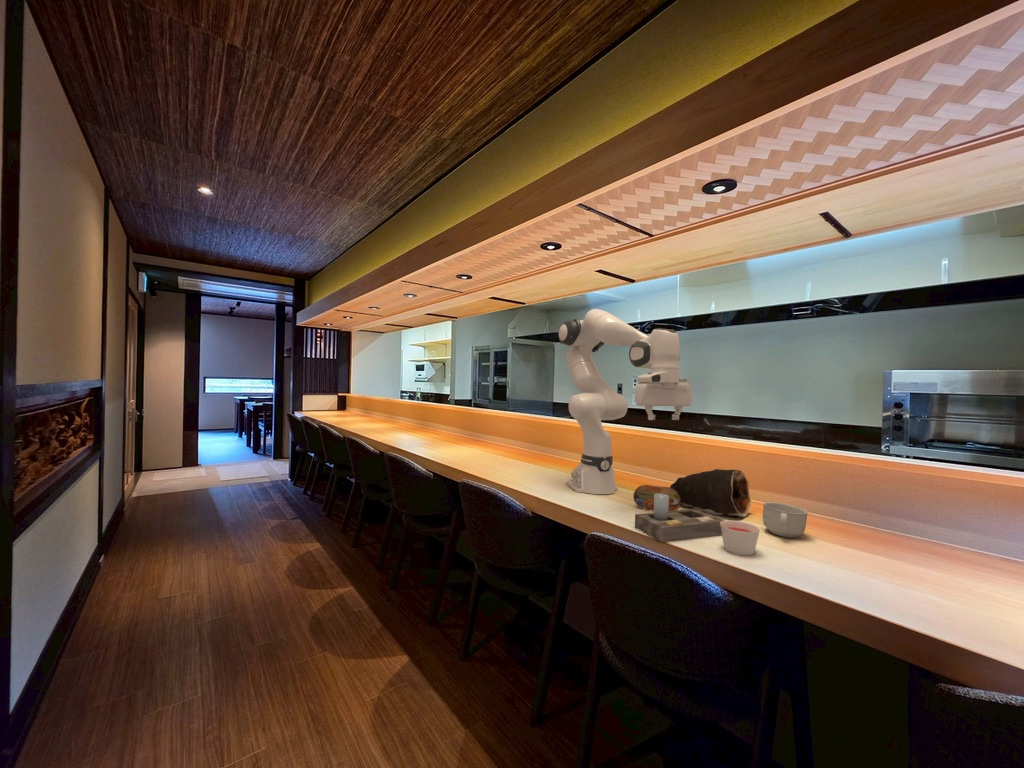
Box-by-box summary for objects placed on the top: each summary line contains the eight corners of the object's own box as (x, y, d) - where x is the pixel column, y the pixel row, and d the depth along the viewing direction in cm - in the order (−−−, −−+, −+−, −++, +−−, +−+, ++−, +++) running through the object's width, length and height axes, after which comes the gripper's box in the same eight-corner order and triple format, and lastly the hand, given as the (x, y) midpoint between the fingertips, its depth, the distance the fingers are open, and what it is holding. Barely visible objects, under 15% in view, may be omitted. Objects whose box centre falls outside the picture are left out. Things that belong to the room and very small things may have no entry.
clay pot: (675, 466, 160) (744, 463, 141) (684, 505, 159) (755, 508, 140) (656, 476, 149) (728, 475, 131) (665, 518, 149) (739, 523, 130)
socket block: (634, 527, 123) (635, 513, 123) (694, 521, 131) (694, 507, 131) (662, 542, 112) (662, 526, 112) (725, 534, 119) (725, 519, 119)
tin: (633, 508, 144) (633, 483, 144) (634, 505, 146) (635, 481, 146) (679, 515, 137) (680, 489, 137) (680, 513, 139) (681, 487, 139)
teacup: (768, 525, 128) (768, 499, 128) (810, 534, 121) (811, 507, 121) (754, 536, 119) (755, 508, 119) (799, 547, 111) (800, 517, 111)
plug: (650, 527, 122) (651, 493, 122) (661, 526, 123) (662, 493, 123) (659, 532, 118) (660, 497, 118) (670, 531, 120) (671, 496, 119)
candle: (743, 560, 102) (744, 534, 102) (711, 546, 110) (712, 522, 110) (767, 554, 106) (767, 529, 106) (734, 542, 114) (735, 518, 114)
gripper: (683, 378, 143) (682, 419, 143) (632, 376, 136) (631, 419, 136) (697, 378, 137) (696, 420, 137) (644, 376, 130) (643, 421, 130)
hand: (663, 420), depth 136 cm, fingers open, 8 cm apart
